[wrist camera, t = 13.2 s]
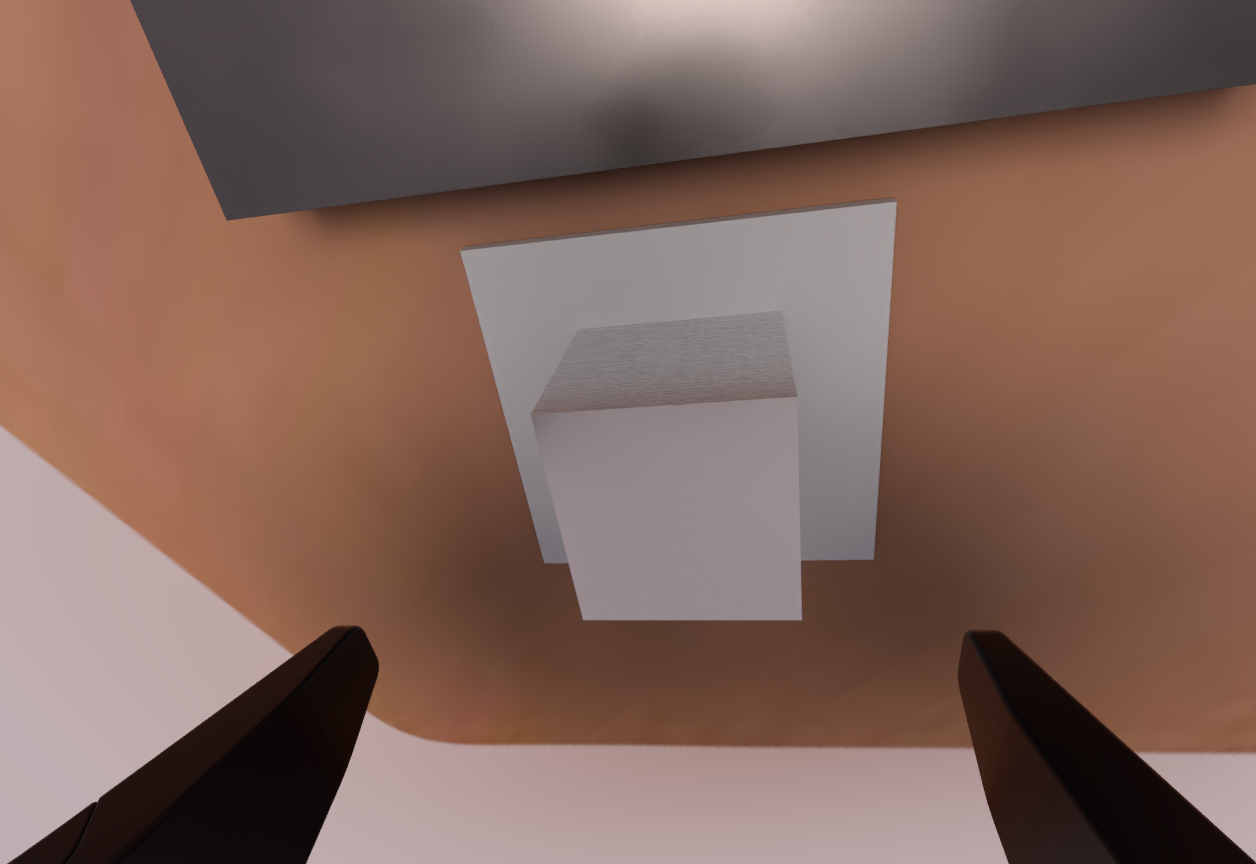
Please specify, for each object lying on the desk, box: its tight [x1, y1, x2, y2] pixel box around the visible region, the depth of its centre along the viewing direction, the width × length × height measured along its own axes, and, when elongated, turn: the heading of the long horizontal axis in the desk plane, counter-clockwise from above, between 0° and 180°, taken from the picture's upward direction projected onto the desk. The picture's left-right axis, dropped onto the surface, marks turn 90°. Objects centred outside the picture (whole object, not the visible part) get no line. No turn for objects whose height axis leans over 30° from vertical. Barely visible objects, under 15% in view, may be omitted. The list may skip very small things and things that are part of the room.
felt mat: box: [460, 198, 897, 563], centre depth 15 cm, size 9×9×1 cm
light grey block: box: [531, 311, 802, 620], centre depth 14 cm, size 4×5×4 cm
